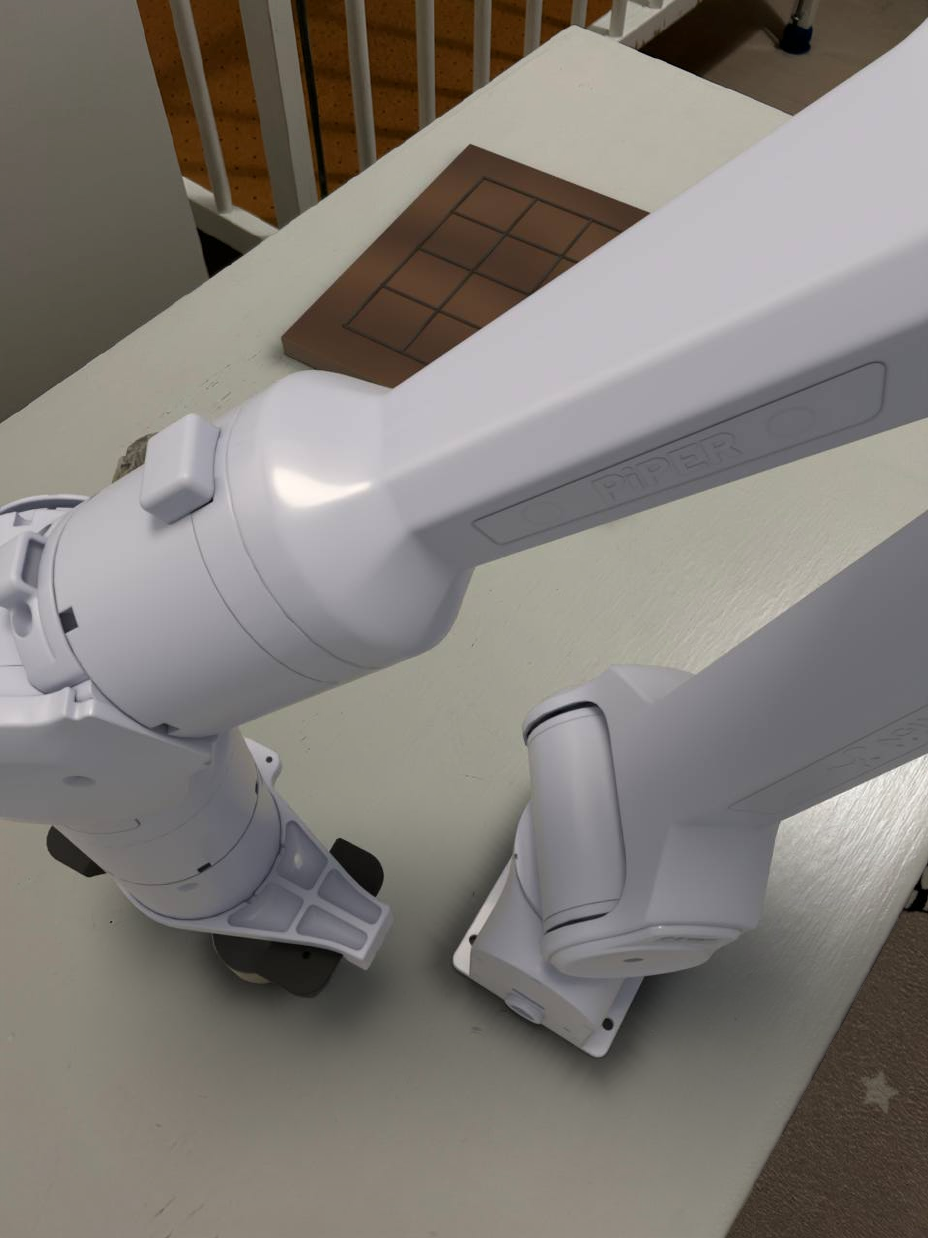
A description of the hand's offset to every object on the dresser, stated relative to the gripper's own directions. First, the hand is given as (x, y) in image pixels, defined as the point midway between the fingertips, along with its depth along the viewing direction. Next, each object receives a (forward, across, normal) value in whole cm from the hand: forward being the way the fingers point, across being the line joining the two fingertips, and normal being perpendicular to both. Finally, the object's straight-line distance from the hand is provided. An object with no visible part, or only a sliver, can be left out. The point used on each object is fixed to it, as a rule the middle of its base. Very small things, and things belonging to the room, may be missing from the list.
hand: (247, 901), depth 42 cm
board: (+4, +6, -43) cm, 44 cm away
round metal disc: (+4, 0, +1) cm, 5 cm away
